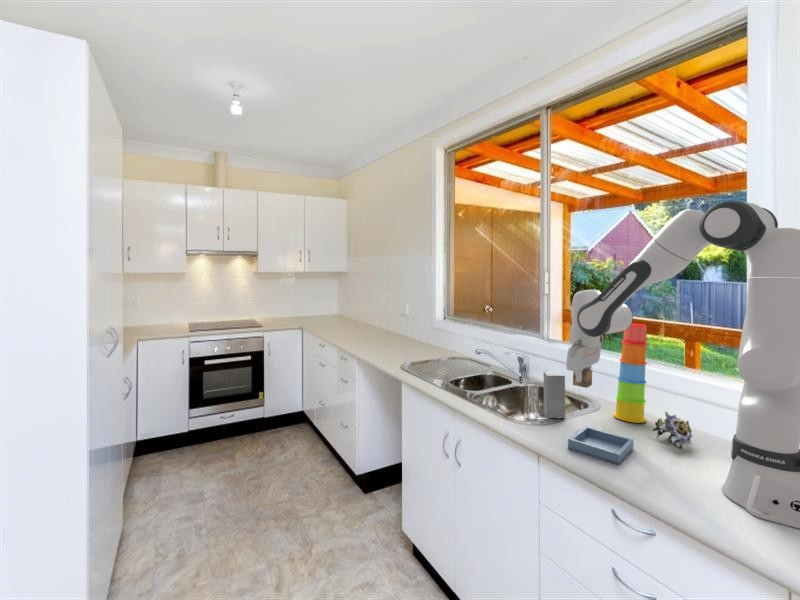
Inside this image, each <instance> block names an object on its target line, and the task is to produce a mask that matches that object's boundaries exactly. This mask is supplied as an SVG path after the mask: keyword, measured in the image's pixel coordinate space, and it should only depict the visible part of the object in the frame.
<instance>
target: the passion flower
mask: <svg viewBox="0 0 800 600" xmlns="http://www.w3.org/2000/svg"><path fill="white" fill-rule="evenodd" d="M664 413H665V419H664V421H663V419H662V418H658V419H657V421H655V423H654V424H655V426H656V427H654V428H653V429H652V432H655V431H657V435H656V439H657V440H658V439H659V437H660V436H662V435H663V434H664V433H670V435H669V436H668V438H667V440H668V442H669V443H673V445H674V447H675V448H676V449H679V448H680V449H681V450H682V449H683V451H686V450H687V445H688V444H689V445H692V444H693V441H692V439H691V438H693V434H692V433H693V430H692V428H691V426H690V424H689V423H690V422H689V420H686V421H685V420H684V419H681V417H680V418H679V417H677V414H672V415H670V414H669V412H667V411H665V412H664Z"/></svg>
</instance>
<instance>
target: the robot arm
mask: <svg viewBox="0 0 800 600" xmlns="http://www.w3.org/2000/svg"><path fill="white" fill-rule="evenodd" d="M711 245H714V246H716V247H719V248H725V249H728V250H734V251H739V252H744V253H745V254H746V255H747V256H748V261H749V268H748V269H749V270H748V281H747V294H746V295H747V296H746V308H745V309H746V311H745V316H744V320H743V325H742V331H741V337H740V341H739V347H738V348H739V349H738V357H737V363H736V364H737V371H738V374H739V375H740V377H741V379H742V380H743V387H742V390H741V395H740V399H739V402H738V407H737V408H738V409H737V417H736V426H735V427H736V428H735V434H734V435H733V437H732V441H731V448H730V449H731V450H730V455H731V456H730V457H731V464H730V467H729V470H728V474H727V477H726V479H725V481H724V483H723V484H722V486H721V491H722V493H723V494H724V495H725V496H726V497H727V498H728V499H729V500H731V501H732V502H733V503H736V504H737V505H739V506H741V507H743V508H744V509H745V510H746V511H747V512H748V513H749V514H751V515H752V516H753V517H757V518H758V519H762V520H766V521H769V522H773V523H778V524H781V525H784V526H788V527H793V528H795V529H799V530H800V229H799V228H794V227H793V228H791V227H779V223H778V220H777V217H776V215H775V214H774V213H773V212H772V211H770V210H769V209H767V208H764V207H761V206H759V205H758V204H756V203H752V202H747V201H740V200H726V201H722V202H718V203H717V204H714V205H712V206H711V207H710V208H708V209H707V210H706V211H702V210H699V209H690V208H689V209H685V210H682V211H680V212H679V213H678V214H676V215H675V216H674V217H673V218H671V219H670V221H668V222H667V223H666V224H665V225H664V226H662V228H661V229H660V230H659V231H658V232H657V233H656V234H655V236H654V237H653V238H652V239H651V240H650V241H649V243H648V244H647V245H646V246H645V248H643V250H642V251H641V252H640V253H639V254H638V255H637V256H636V257H635V258H634V259H633V260H632V261H631V262H630V263H629V264H628V265H627V267H625V268H624V269H623V270H622V271H621V272H620V273H619V274H618V275H617V276H616V277H615V278H614V279H613V280H611V282H610V283H609V284H608V285H607V286H606V287H605V288H604V289H603V290H602V291H600V290H597V289H587V290H586V289H585V290H579V291H577V292H576V293H574V295H573V298H572V303H571V309H570V318H571V325H570V330H569V331H570V334H569V343H570V344H571V345H570V347H568V349H567V355H566V356H567V357H566V365H565V367H566V369H567V371H571V372H573V371H574V372H575V376H576V381H577V382H582V381H583V376H582V372H583V369H588V370H592V368H593V367H592V366H593V365H595V364H598V362H599V361H600V359H601V350H602V343H603V341H604V336H603V335H607V334H608V335H609V334H615V333H621V332H624V330H626V329H628V328H629V327H630V325H631V324H632V323H633V320H634V318H633V317H634V314H633V312H632V310H631V308H630V307H629V306H628V305H627V304H625V303H626V302H627V301H628V300H629V299H630V298H632V296H633V295H634V294H636V292H639V290H642V289H644V288H645V287H648V286H650V285H654V284H656V283H659V282H663V281H666V280H667V281H668V280H670V279H673V278H674V277H676V275H678V274H679V273H680V272H682V271H683V270H685V269H686V268H687V267H688V266H689V264H691V263H692V261H694V259H695V258H696V257H697V256H698V255H699V254H700V253H701V252H702V251H703V250H704V249H705V248H706V247H709V246H711Z"/></svg>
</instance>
